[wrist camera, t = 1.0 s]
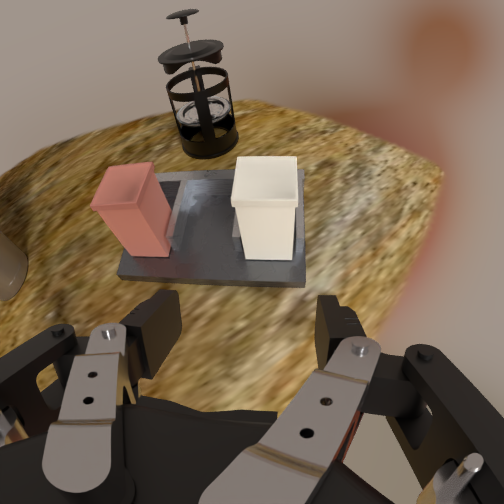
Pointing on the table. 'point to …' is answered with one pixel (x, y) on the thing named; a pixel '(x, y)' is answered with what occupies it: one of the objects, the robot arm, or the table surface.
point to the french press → (200, 95)
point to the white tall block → (266, 205)
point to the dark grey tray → (213, 238)
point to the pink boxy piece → (135, 208)
